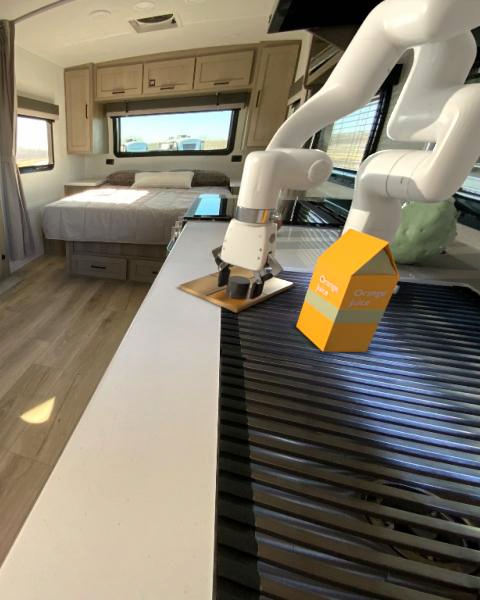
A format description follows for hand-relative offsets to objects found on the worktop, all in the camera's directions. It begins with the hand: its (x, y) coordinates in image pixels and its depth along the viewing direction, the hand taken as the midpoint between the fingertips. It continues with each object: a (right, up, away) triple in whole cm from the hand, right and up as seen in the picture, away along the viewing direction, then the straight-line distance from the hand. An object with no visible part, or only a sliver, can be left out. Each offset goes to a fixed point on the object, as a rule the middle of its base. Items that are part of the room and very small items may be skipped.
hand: (237, 291), depth 77 cm
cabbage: (+59, +9, +21) cm, 64 cm away
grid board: (+3, +1, +7) cm, 8 cm away
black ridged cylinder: (0, -1, 0) cm, 1 cm away
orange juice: (+10, -10, -14) cm, 20 cm away
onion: (+35, +23, +51) cm, 66 cm away
